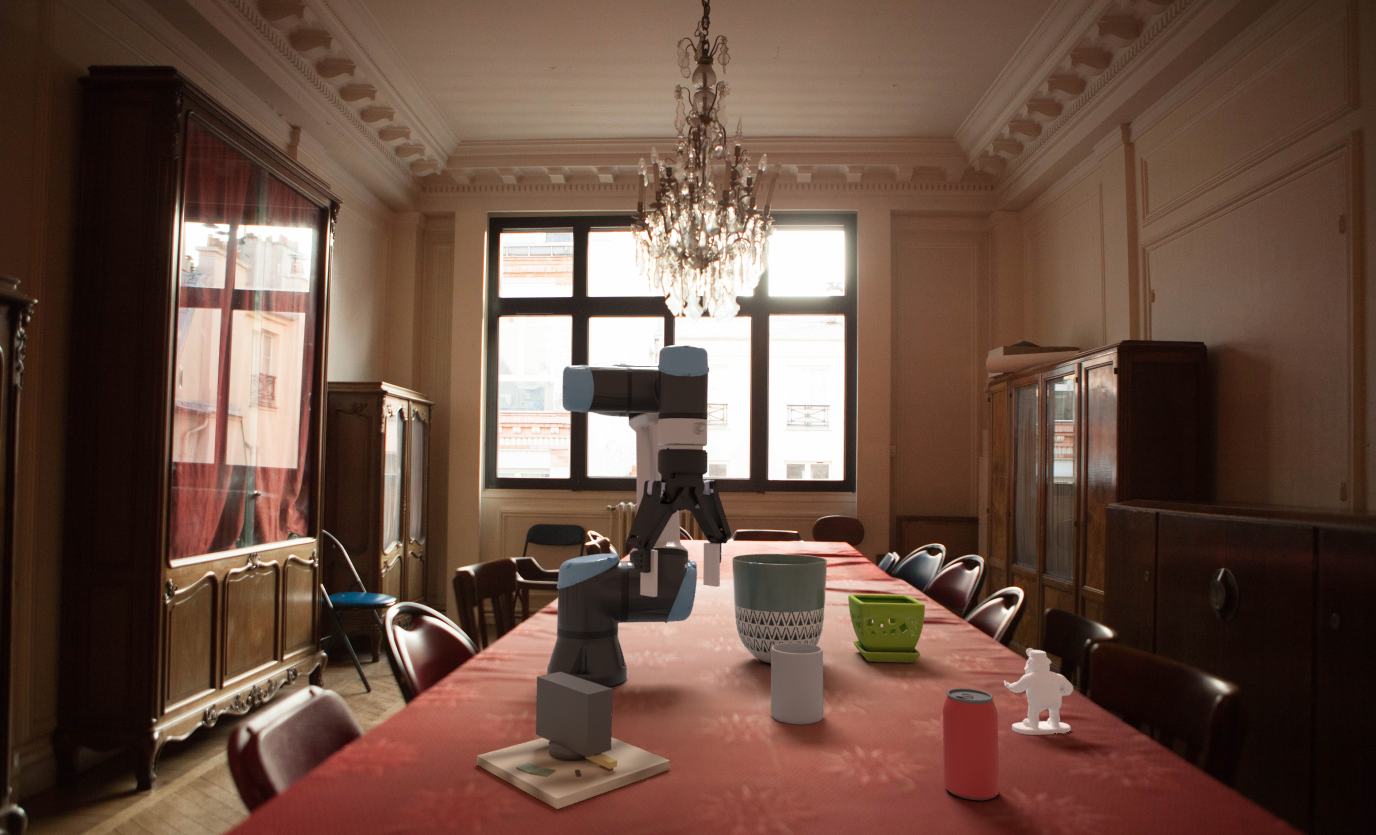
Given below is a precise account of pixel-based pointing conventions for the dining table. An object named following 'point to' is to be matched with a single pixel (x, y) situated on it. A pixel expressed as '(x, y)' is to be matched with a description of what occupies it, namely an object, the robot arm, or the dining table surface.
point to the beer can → (970, 744)
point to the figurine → (1041, 695)
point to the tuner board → (569, 770)
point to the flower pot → (887, 626)
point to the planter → (778, 600)
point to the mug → (797, 683)
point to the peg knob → (575, 718)
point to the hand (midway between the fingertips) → (681, 590)
